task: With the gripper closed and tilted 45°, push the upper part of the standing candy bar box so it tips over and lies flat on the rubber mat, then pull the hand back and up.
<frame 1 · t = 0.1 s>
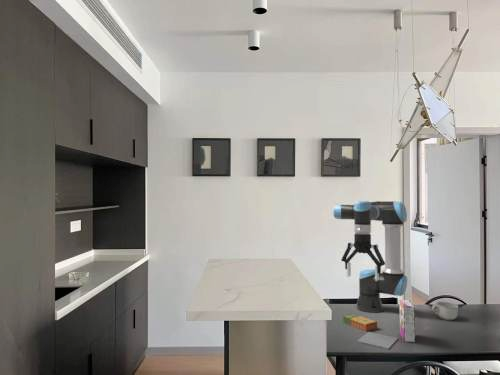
hand: (362, 278, 174), 28 cm above the table, tool pointing down, fingers open, 13 cm apart
mat: (377, 340, 170), on the table
teacup: (444, 318, 204), on the table
candy bar box: (407, 338, 174), on the table
carton: (359, 326, 190), on the table
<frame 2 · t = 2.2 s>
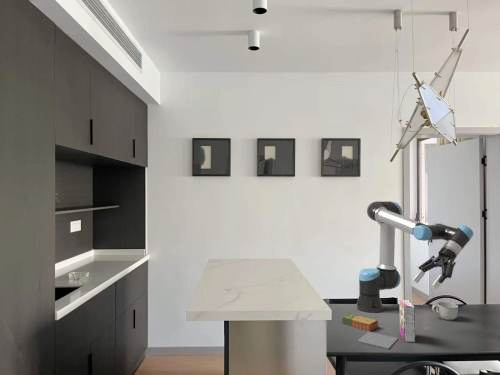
hand: (424, 284, 178), 25 cm above the table, tool tilted 45°, fingers open, 13 cm apart
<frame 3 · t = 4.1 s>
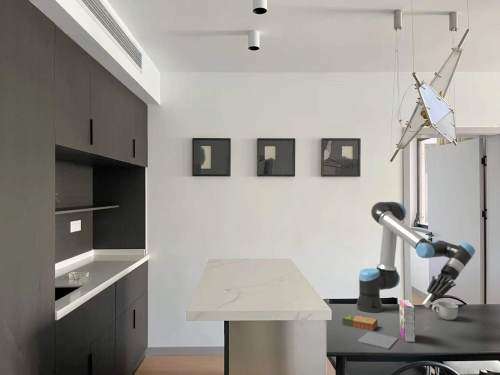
hand: (425, 305, 177), 14 cm above the table, tool tilted 45°, fingers closed
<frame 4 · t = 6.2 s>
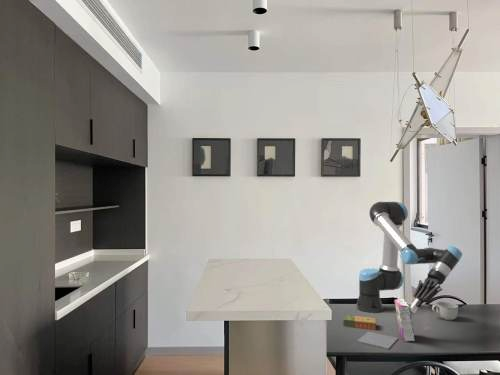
hand: (411, 311, 173), 13 cm above the table, tool tilted 45°, fingers closed
candy bar box: (407, 337, 174), on the table, touching gripper
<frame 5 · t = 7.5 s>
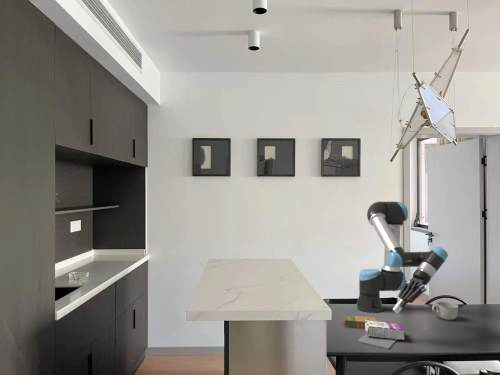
hand: (395, 311, 172), 13 cm above the table, tool tilted 45°, fingers closed
candy bar box: (402, 332, 174), point 3 cm above the table, touching mat
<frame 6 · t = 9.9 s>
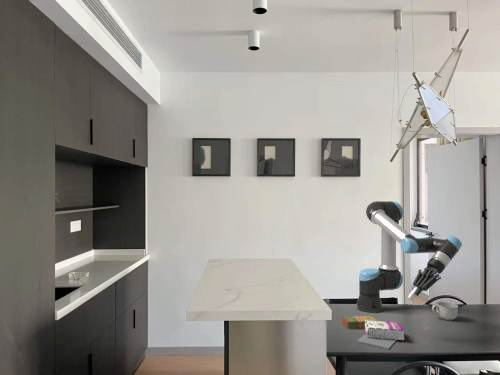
hand: (410, 299, 175), 18 cm above the table, tool tilted 45°, fingers closed
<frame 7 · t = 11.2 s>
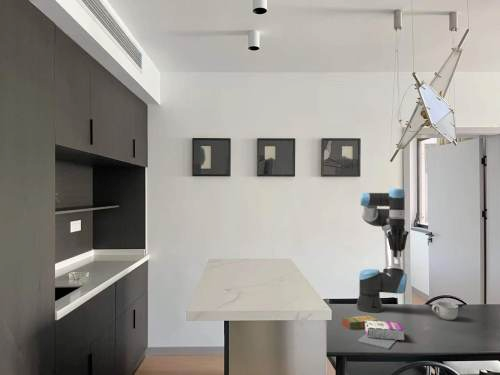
hand: (397, 263, 191), 32 cm above the table, tool pointing down, fingers closed
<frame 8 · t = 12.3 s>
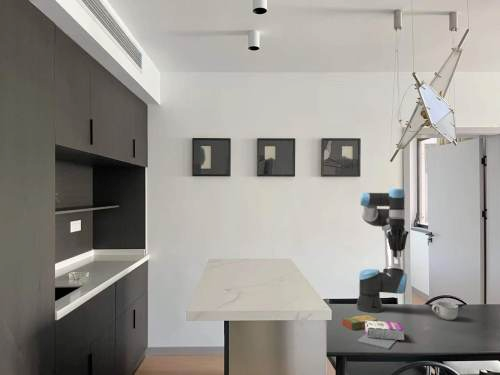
hand: (397, 263, 191), 32 cm above the table, tool pointing down, fingers closed
at the end: candy bar box tilted 89°; candy bar box touching mat; the gripper is holding nothing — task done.
